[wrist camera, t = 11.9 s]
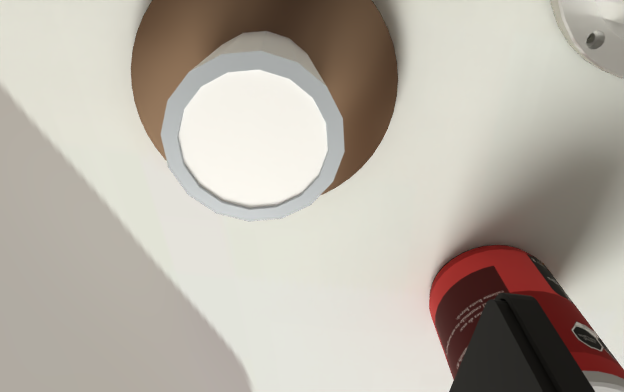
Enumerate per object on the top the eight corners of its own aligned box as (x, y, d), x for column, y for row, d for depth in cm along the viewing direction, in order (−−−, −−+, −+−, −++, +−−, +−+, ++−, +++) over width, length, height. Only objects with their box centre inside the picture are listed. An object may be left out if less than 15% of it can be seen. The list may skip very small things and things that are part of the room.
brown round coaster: (424, -27, 24) (430, -24, 23) (360, 210, 30) (363, 220, 29) (142, -85, 23) (135, -86, 22) (133, 177, 29) (127, 187, 28)
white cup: (220, 168, 27) (201, 241, 21) (168, 41, 24) (127, 82, 18) (346, 133, 27) (364, 198, 20) (310, -3, 23) (318, 25, 17)
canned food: (539, 329, 35) (634, 484, 26) (423, 339, 35) (474, 497, 26) (556, 235, 32) (675, 374, 22) (427, 245, 32) (489, 389, 22)
